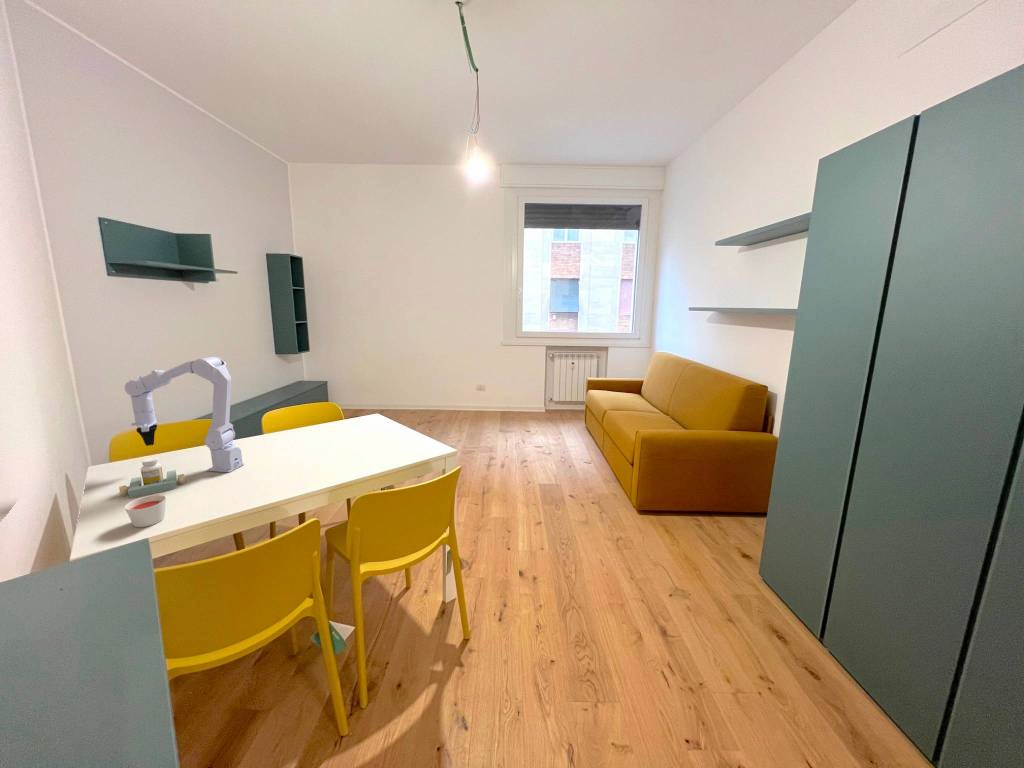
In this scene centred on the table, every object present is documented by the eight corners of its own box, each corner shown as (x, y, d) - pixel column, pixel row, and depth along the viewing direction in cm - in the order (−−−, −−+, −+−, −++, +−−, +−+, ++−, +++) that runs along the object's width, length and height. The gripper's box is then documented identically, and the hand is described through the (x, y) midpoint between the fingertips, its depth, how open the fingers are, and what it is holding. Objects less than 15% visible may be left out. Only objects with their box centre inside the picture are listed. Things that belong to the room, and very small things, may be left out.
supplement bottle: (151, 482, 142) (147, 457, 140) (168, 481, 143) (163, 456, 141) (139, 489, 137) (134, 463, 135) (156, 488, 138) (152, 462, 136)
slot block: (123, 486, 138) (121, 479, 138) (185, 474, 149) (183, 467, 148) (119, 500, 129) (117, 491, 129) (185, 486, 140) (183, 478, 139)
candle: (130, 533, 111) (126, 513, 110) (127, 521, 117) (123, 502, 116) (171, 521, 118) (168, 501, 117) (166, 510, 124) (163, 491, 123)
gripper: (131, 407, 150) (137, 441, 153) (127, 416, 139) (133, 452, 142) (155, 405, 154) (161, 438, 157) (153, 413, 143) (159, 448, 146)
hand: (150, 444), depth 150 cm, fingers closed
